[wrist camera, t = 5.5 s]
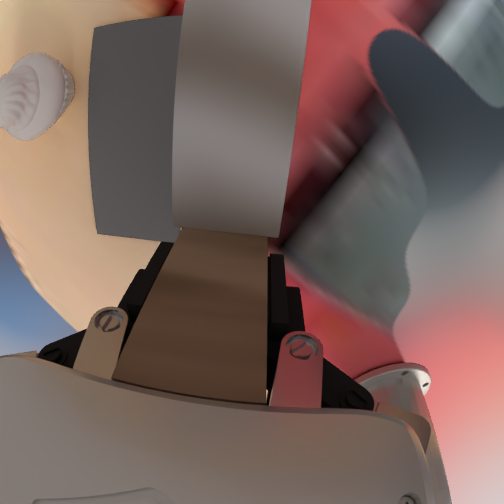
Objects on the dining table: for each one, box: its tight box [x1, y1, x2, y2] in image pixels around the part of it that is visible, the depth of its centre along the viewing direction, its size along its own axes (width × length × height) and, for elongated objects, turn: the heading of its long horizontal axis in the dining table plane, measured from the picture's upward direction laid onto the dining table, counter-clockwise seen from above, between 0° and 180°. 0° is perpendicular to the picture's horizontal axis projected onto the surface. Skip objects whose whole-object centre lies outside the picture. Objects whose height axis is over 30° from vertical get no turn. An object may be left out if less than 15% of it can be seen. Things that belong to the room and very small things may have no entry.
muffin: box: [0, 52, 75, 141], centre depth 12 cm, size 6×6×7 cm
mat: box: [88, 15, 183, 243], centre depth 17 cm, size 16×7×1 cm, turn 174°
